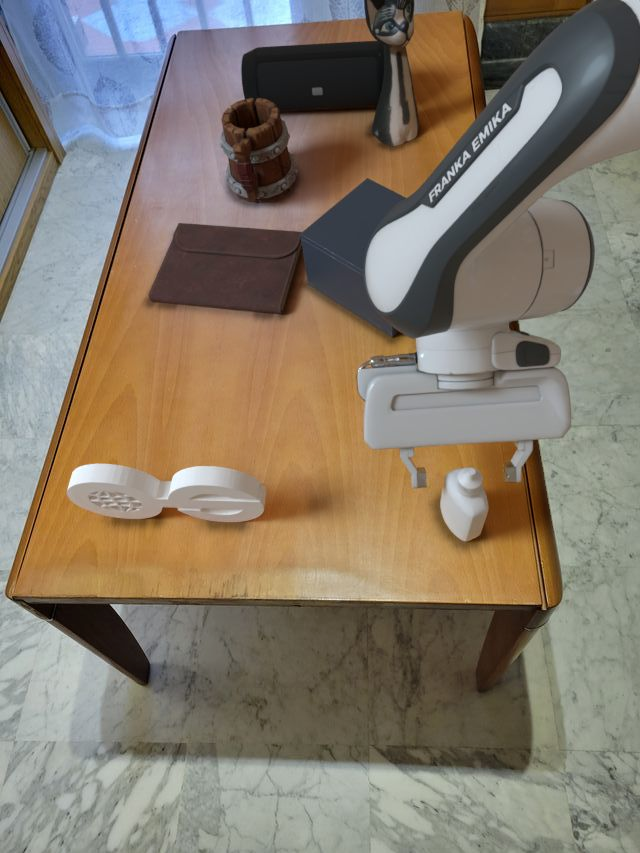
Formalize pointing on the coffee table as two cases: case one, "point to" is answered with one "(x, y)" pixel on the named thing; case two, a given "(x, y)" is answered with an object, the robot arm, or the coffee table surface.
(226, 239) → the brown leather sleeve case
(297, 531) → the coffee table surface
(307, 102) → the portable speaker
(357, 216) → the cabinet
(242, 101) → the mug
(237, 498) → the white double disc plate
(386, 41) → the figurine
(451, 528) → the eye dropper bottle
